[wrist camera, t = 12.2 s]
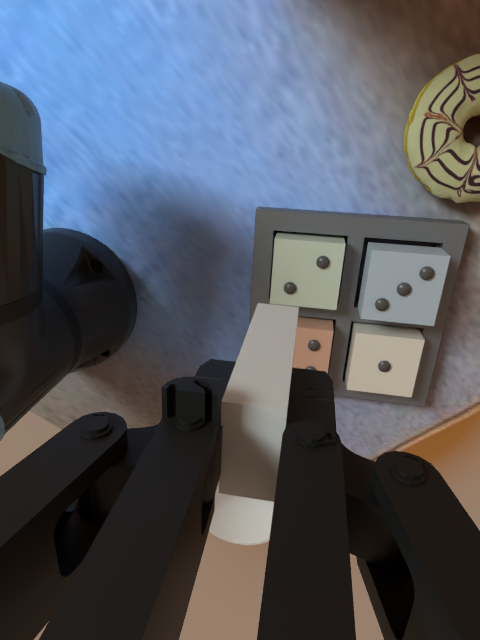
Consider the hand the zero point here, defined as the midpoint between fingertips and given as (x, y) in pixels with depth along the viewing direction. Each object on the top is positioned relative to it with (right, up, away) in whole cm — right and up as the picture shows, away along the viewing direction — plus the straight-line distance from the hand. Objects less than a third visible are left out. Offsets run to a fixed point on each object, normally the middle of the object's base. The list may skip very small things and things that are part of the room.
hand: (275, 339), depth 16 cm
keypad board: (+9, +2, +27) cm, 28 cm away
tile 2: (+5, +6, +25) cm, 26 cm away
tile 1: (+12, -2, +27) cm, 30 cm away
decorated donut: (+18, +16, +20) cm, 31 cm away
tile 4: (+5, -2, +28) cm, 28 cm away
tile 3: (+13, +4, +22) cm, 26 cm away
